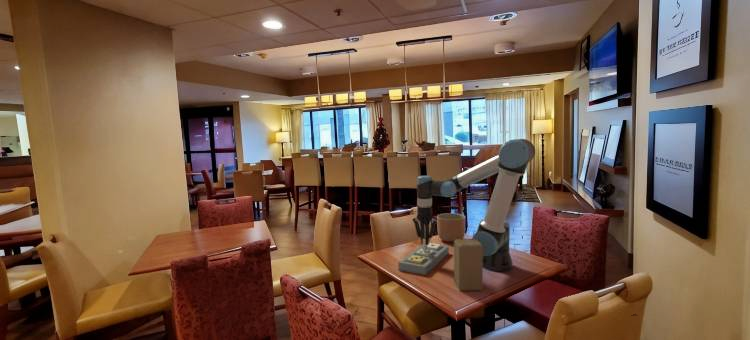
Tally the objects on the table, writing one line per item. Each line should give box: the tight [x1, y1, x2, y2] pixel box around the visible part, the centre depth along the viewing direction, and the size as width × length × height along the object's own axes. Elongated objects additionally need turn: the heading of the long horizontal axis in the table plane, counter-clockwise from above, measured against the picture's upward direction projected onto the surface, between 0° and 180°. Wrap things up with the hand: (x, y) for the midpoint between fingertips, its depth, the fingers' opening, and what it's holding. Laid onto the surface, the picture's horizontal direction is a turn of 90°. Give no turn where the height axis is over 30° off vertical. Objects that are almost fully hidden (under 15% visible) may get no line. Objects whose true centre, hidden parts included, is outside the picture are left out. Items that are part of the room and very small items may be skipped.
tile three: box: [407, 255, 426, 265], centre depth 178 cm, size 7×7×4 cm
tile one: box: [427, 242, 442, 251], centre depth 197 cm, size 7×7×4 cm
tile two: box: [416, 249, 434, 258], centre depth 187 cm, size 7×7×4 cm
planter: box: [436, 212, 466, 244], centre depth 221 cm, size 17×17×15 cm
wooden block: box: [453, 238, 484, 292], centre depth 156 cm, size 10×10×20 cm
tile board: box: [398, 244, 449, 276], centre depth 188 cm, size 14×34×4 cm, turn 150°
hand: (425, 250), depth 187 cm, fingers closed
